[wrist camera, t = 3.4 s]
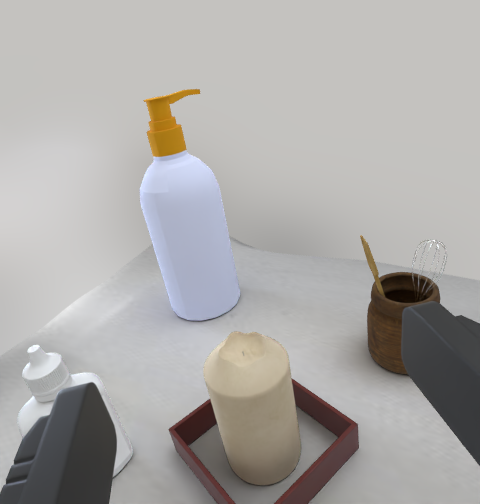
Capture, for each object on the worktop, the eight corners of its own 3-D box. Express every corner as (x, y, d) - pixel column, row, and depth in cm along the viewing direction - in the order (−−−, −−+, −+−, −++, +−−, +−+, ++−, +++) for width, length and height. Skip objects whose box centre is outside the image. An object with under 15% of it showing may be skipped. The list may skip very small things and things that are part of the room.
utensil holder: (453, 372, 31) (468, 242, 26) (376, 382, 32) (375, 257, 26) (422, 327, 37) (429, 211, 31) (356, 336, 37) (352, 224, 32)
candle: (242, 501, 25) (211, 392, 21) (218, 435, 30) (189, 335, 25) (315, 465, 26) (302, 356, 22) (281, 407, 31) (264, 308, 27)
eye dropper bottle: (130, 489, 27) (68, 363, 22) (51, 507, 27) (-31, 384, 22) (137, 436, 31) (86, 318, 26) (68, 451, 31) (2, 336, 26)
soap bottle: (259, 291, 47) (224, 83, 36) (199, 332, 42) (137, 104, 31) (216, 272, 53) (175, 89, 42) (159, 305, 48) (96, 107, 37)
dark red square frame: (267, 379, 34) (263, 358, 33) (358, 447, 27) (357, 423, 26) (176, 451, 29) (168, 429, 28) (259, 556, 22) (252, 533, 21)
